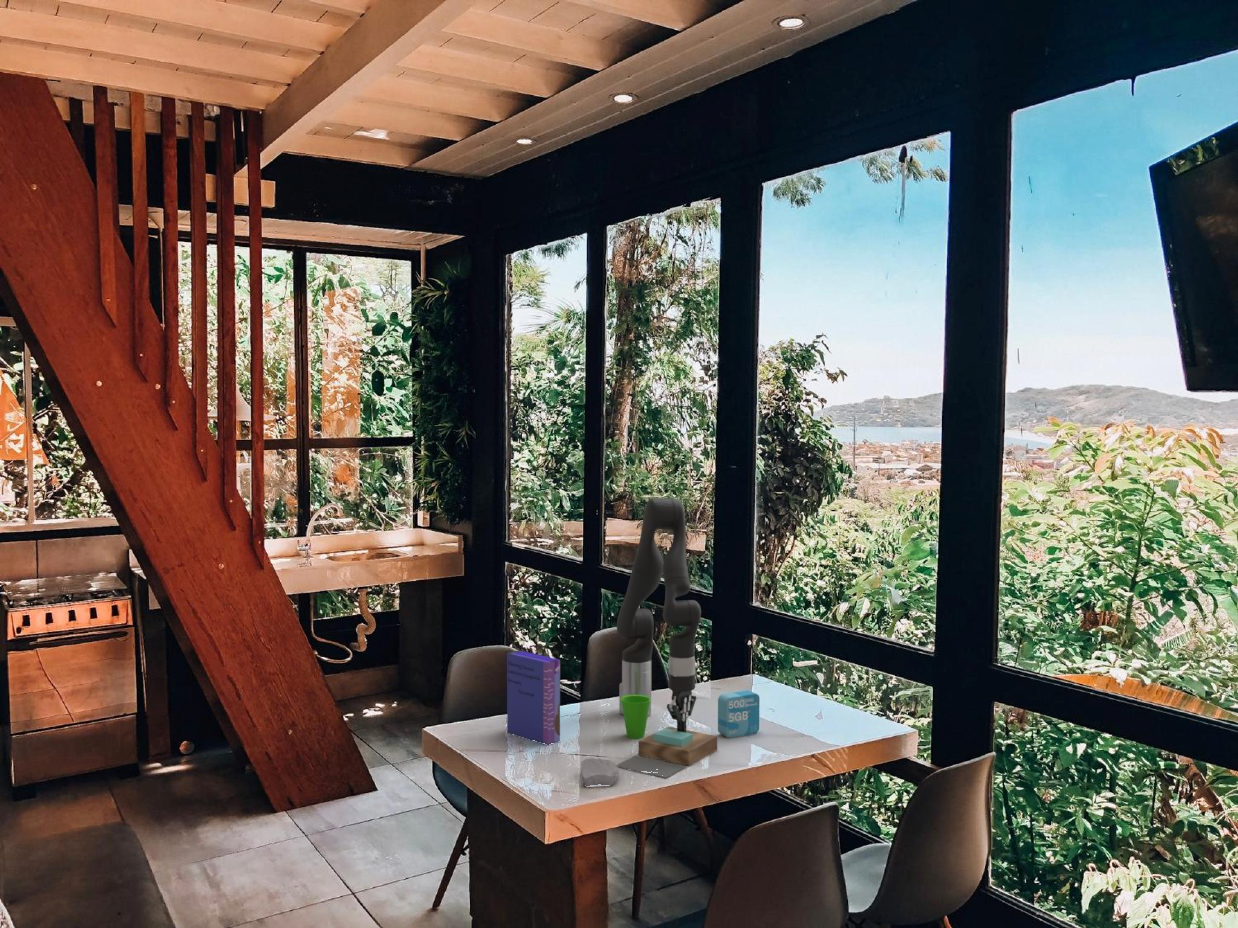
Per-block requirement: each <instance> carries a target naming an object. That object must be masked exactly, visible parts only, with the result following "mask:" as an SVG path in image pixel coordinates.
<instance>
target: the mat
mask: <svg viewBox="0 0 1238 928" xmlns="http://www.w3.org/2000/svg"><path fill="white" fill-rule="evenodd" d="M616 766H618V767H621V768H620V769H622V768H626V769H625V770H627V769H631V770H634V771H633V772H635V771H639V772H638V773H640V772H641V771H647V772H651V771H652V772H651V773H648V774H652V775H657V776H659V777H658V778H661V777H664V778H663V779H665V778H667V777H669V778H670V777H672V776H674V775H675V773H676V774H678V773H679V772H681V771H683V770H685V769H686V768H687V766H685V765H681V764H676V763H672V762H667V761H663V760H658V759H654V758H649V757H645V756H640V755H634V756H632V757H630V758H627V759H625V760H624V761H622V762H620V763H618V764H616ZM684 768H685V769H684ZM656 769H658V770H656ZM682 769H683V770H682ZM631 770H630V771H631ZM653 772H658V773H653ZM677 772H678V773H677ZM648 774H647V775H648ZM673 774H674V775H673ZM652 775H651V776H652ZM662 775H663V776H662ZM671 775H672V776H671ZM657 776H656V777H657ZM667 779H668V778H667Z"/></svg>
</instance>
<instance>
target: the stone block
mask: <svg viewBox="0 0 1238 928" xmlns="http://www.w3.org/2000/svg"><path fill="white" fill-rule="evenodd" d="M580 764H581V765H580V766H581V770H580V771H581V772H580V773H581V780H582V781H581V782H582V784H583V785H586V786H590V785H598V784H601V785H612V786H613V784H614V783H616V781H617V779H618V777H619V775H620V770H619V769H620V768H618V767H617V766H616V765H617V764H616V763H615V762H613V761H612V760H609V759H604V758H603V759H602V758H593V757H592V758H585V759H584V760H582V761H581V763H580ZM583 785H582V786H583Z"/></svg>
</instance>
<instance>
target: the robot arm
mask: <svg viewBox="0 0 1238 928" xmlns="http://www.w3.org/2000/svg"><path fill="white" fill-rule="evenodd" d="M685 514H686V512H685V508H684V504H683V502H682V501H681V500H680V499H679V498H666V497H665V498H664V497H662V498H661V497H652V498H650V499H649V500H648V501H647V503H646V505H645V509H644V513H643V521H642V525H641V531H640V536H639V537H640V538H639V543H638V547H637V550H636V554H635V556H634V557H635V558H634V561H633V564H632V568H631V573H630V578H629V581H628V585H627V590H626V593H625V596H624V598H623V602H622V605H621V607H620V609H619V612H618V616H617V620H616V631H617V635H618V636H619V637H620V639H623V640H635V639H637V640H636V641H635V642H634V644H632V645H630V646H628V647H627V648H624V650H622V654H621V655H622V656H621V657H622V658H621V660H622V661H621V663H622V664H621V665H622V666H621V679H622V680H621V682H620V683H619V684H618V685H619V687H618V688H619V691H618V692H619V695H618V696H619V697H618V698H619V700H618V701H619V703H618V704H619V705H618V706H619V707H618V708H619V710H618V713H619V714H622V715H623V716H624V713H623V706H622V701H621V700H620V699H621V697H623V696H627V695H644V696H648V697H650V698H651V699H652V655H653V648H654V647H653V646H654V644H653V643H654V630H655V629H654V628H655V627H654V617H653V613H652V612H651V610H650V609H649V608H640V606H641V605H642V604H643V602H644V601H645V600H647V598H649V596H650V595H651V594H652V593H654V591H655V590H656V589H657V588H658V587H659V585H660V583H661V579H662V576H663V581H664V587H665V588H664V589H665V596H664V605H663V609H662V610H663V611H662V618H663V621H664V622H665V623H666V625H667V626H669V627H684V626H685V628H684V629H683V630H682V631H680V632H677V633H675V634H671V636H670V637H669V639H668V640H669V642H668V643H669V649H668V650H669V651H668V652H669V654H668V655H669V656H668V662H667V663H668V669H667V671H668V672H667V674H668V679H667V681H668V689H669V690H671V693H672V694H671V703H668V704H666V709H667V712H669V716H671V717H670V718H671V719H672V720H674V721H676V728H677V731H680V732H685V733H686V730H687V720H689V717H691V715H692V713H693V709H694V706H695V705H696V704H695V703H696V700H697V696H696V695H693V694H692V693H693V692H692V691H693V690H695V688H696V658H695V657H696V655H695V649H696V648H695V647H696V646H695V644H696V638H697V637H696V635H697V632H698V628H699V625H700V621H701V617H702V609H701V605H700V603H698V601H696V600H694V599H692V600H691V599H686V600H685V599H684V600H676V598H678V597H682V596H685V595H687V594H688V593H689V592H690V590H691V583H690V576H689V571H688V565H687V554H686V553H687V551H686V550H687V548H686V546H687V545H686V540H687V539H686V537H687V535H686V515H685ZM657 530H667V531H668V530H672V534H673V535H672V536H673V538H672V542H671V545H670V547H669V550H668V551H667V553H666V556H665V558H663V556H662V554H661V552H660V549H659V547H658V545H657V544H656V541H655V540H656V539H655V535H656V532H657ZM650 715H652V700H651V701H650V704H649V710H648V716H650Z"/></svg>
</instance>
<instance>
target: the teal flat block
mask: <svg viewBox="0 0 1238 928" xmlns="http://www.w3.org/2000/svg"><path fill="white" fill-rule="evenodd" d="M662 729H663V730H662ZM662 729H660V730H658V731H656V732H654V733H653V734H654V741H656V742H661V743H666V744H670V745H675V746H680V747H682V746H684V745H686V744H688V743H690V742H692V741H693V734H690V733H685V732H680V731H675V730H670V729H664V728H662Z"/></svg>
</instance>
